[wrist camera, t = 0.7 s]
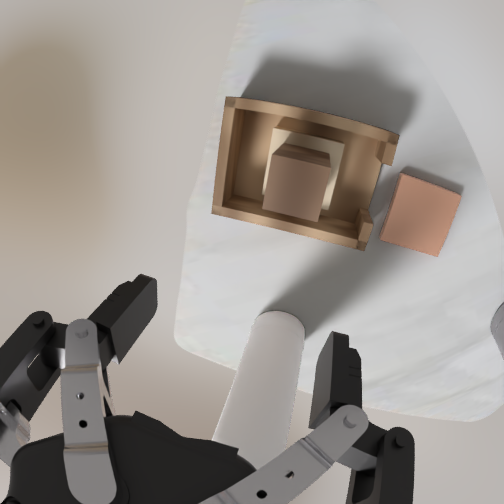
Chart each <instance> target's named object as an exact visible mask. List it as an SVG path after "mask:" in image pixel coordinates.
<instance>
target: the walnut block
mask: <svg viewBox="0 0 504 504" xmlns="http://www.w3.org/2000/svg"><path fill="white" fill-rule="evenodd" d="M330 171H331V162H330V154H329V153H326V152H322V151H318V150H314V149H310V148H305V147H301V146H296V145H292V144H287V143H283V144H282V145H281V146H280V147H279V148H278V149H277V150H276V151H275V152H274V153H273V154H272V156H271V162H270V167H269V173H268V178H267V184H266V190H265V195H264V201H263V207H262V209H264V210H269V211H273V212H277V213H281V214H286V215H290V216H294V217H298V218H302V219H306V220H310V221H314V222H318V218H319V215H320V211H321V207H322V203H323V199H324V195H325V191H326V187H327V183H328V179H329V175H330Z"/></svg>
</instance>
